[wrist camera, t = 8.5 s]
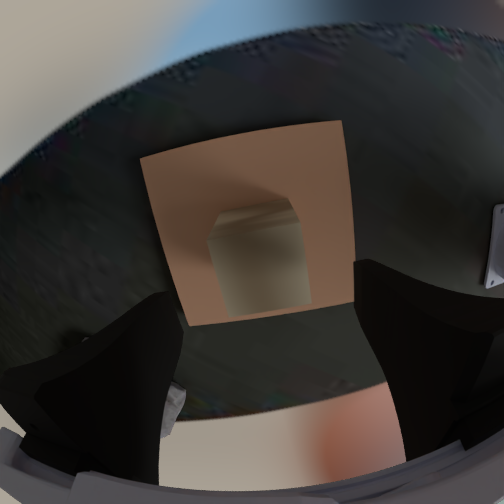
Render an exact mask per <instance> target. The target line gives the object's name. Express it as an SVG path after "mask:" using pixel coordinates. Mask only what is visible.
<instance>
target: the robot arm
mask: <svg viewBox="0 0 504 504" xmlns="http://www.w3.org/2000/svg"><path fill="white" fill-rule="evenodd" d="M353 273H354V308H355V311H356V314H357V317H358V320H359V322H360V325H361V328H362V330H363V332H364V334H365V336H366V338H367V340H368V342H369V344H370V346H371V347H372V349H373V351H374V353H375V355H376V357H377V359H378V361H379V363H380V365H381V367H382V370H383V372H384V374H385V377H386V380H387V383H388V385H389V389H390V392H391V395H392V398H393V402H394V405H395V409H396V413H397V416H398V420H399V425H400V429H401V434H402V438H403V444H404V449H405V456H406V462H405V463H402V464H399V465H396V466H393V467H390V468H387V469H384V470H380V471H377V472H374V473H370V474H366V475H362V476H358V477H354V478H350V479H345V480H341V481H336V482H331V483H325V484H319V485H313V486H306V487H298V488H291V489H279V490H266V491H206V490H192V489H181V488H173V487H165V486H159V469H158V468H159V467H158V465H159V445H160V436H161V427H162V420H163V413H164V407H165V403H166V398H167V395H168V391H169V388H170V385H171V382H172V379H173V376H174V372H175V369H176V366H177V363H178V360H179V356H180V353H181V347H182V341H183V334H184V331H183V329H182V326H181V324H180V321H179V319H178V316H177V313H176V311H175V308H174V305H173V303H172V300H171V297H170V295H169V292H168V291H166V292H158V293H154V294H152V295H150V296H148V297H147V298H145V299H144V300H142V301H141V302H140V303H138V304H137V305H135V306H134V307H133V308H131V309H130V310H129V311H127V312H126V313H125V314H123V315H122V316H121V317H119V318H118V319H116V320H115V321H114V322H112V323H111V324H109V325H108V326H106V327H105V328H104V329H102V330H101V331H99V332H98V333H96V334H94V335H93V336H91V337H89V338H88V339H86V340H84V341H82V342H81V343H79V344H77V345H75V346H73V347H71V348H69V349H66V350H64V351H62V352H60V353H58V354H55V355H53V356H50V357H48V358H45V359H42V360H39V361H36V362H33V363H29V364H25V365H21V366H17V367H13V368H9V369H7V370H6V371H5V372H4V373H3V374H2V376H1V377H0V404H1V405H2V406H3V408H4V409H5V410H6V411H7V413H8V414H9V415H10V416H11V417H12V418H13V419H14V420H15V422H16V423H17V424H18V425H19V426H20V427H21V428H22V429H23V430H24V431H25V432H26V434H25V436H24V438H23V437H21V436H20V435H19V434H17V433H15V432H13V431H11V430H9V429H7V428H5V427H2V428H1V429H0V487H1V488H2V489H3V490H4V491H6V492H7V493H8V494H10V495H11V496H12V497H14V498H15V499H16V500H18V501H19V502H21V503H22V504H497V503H499V502H500V501H501V500H503V499H504V298H492V297H482V296H475V295H469V294H464V293H459V292H455V291H451V290H447V289H444V288H440V287H437V286H434V285H431V284H428V283H425V282H422V281H420V280H417V279H415V278H412V277H410V276H407V275H405V274H403V273H400V272H398V271H396V270H394V269H392V268H389V267H387V266H385V265H383V264H381V263H378V262H376V261H373V260H370V259H364V260H359V261H354V262H353ZM503 282H504V204H498V205H496V206H495V207H494V210H493V222H492V233H491V242H490V250H489V257H488V263H487V269H486V275H485V280H484V287H485V288H490V287H493V286H496V285H498V284H501V283H503Z"/></svg>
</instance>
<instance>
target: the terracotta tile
mask: <svg viewBox="0 0 504 504" xmlns="http://www.w3.org/2000/svg"><path fill="white" fill-rule="evenodd" d="M140 162H141V166H142V171H143V175H144V179H145V183H146V187H147V191H148V195H149V199H150V203H151V207H152V210H153V214H154V218H155V221H156V225H157V229H158V232H159V236H160V239H161V242H162V246H163V249H164V252H165V256H166V259H167V262H168V265H169V268H170V271H171V275H172V278H173V281H174V284H175V287H176V290H177V293H178V296H179V299H180V301H181V304H182V307H183V310H184V313H185V316H186V318H187V321H188V324H189V326H195V325H205V324H214V323H223V322H231V321H239V320H246V319H254V318H261V317H268V316H274V315H281V314H287V313H293V312H299V311H305V310H311V309H317V308H322V307H328V306H333V305H338V304H344V303H349V302H354V273H353V262H354V261H355V242H354V225H353V211H352V199H351V189H350V179H349V171H348V162H347V155H346V148H345V141H344V134H343V128H342V122H341V120H338V121H327V122H317V123H307V124H299V125H291V126H284V127H277V128H271V129H264V130H258V131H253V132H247V133H242V134H236V135H231V136H226V137H222V138H217V139H212V140H208V141H203V142H199V143H195V144H191V145H187V146H183V147H179V148H175V149H171V150H168V151H164V152H161V153H157V154H154V155H150V156H147V157H143V158H140ZM287 198H288V199H289V201H290V203H291V205H292V207H293V209H294V211H295V213H296V215H297V217H298V219H299V221H300V223H301V229H302V236H303V242H304V249H305V256H306V263H307V270H308V278H309V285H310V293H311V301H312V303H311V304H306V305H301V306H296V307H290V308H285V309H279V310H273V311H267V312H261V313H255V314H249V315H242V316H236V317H229V316H228V313H227V310H226V306H225V303H224V300H223V296H222V293H221V290H220V286H219V283H218V279H217V276H216V273H215V269H214V266H213V262H212V259H211V255H210V251H209V248H208V244H207V241H206V240H207V238H208V236H209V234H210V232H211V230H212V228H213V226H214V224H215V222H216V220H217V218H218V216H219V214H220V212H221V211H226V210H231V209H235V208H240V207H245V206H250V205H255V204H260V203H266V202H271V201H276V200H281V199H287Z"/></svg>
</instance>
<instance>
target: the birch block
mask: <svg viewBox="0 0 504 504" xmlns="http://www.w3.org/2000/svg"><path fill="white" fill-rule="evenodd" d="M206 241H207V244H208V248H209V251H210V255H211V259H212V262H213V266H214V269H215V273H216V276H217V279H218V283H219V286H220V290H221V293H222V296H223V300H224V303H225V306H226V310H227V313H228V316H229V317H236V316H242V315H249V314H255V313H261V312H267V311H273V310H279V309H285V308H290V307H296V306H301V305H306V304H311V303H312V301H311V293H310V285H309V278H308V270H307V263H306V256H305V249H304V242H303V236H302V229H301V223H300V221H299V219H298V217H297V215H296V213H295V211H294V209H293V207H292V205H291V203H290V201H289V199H288V198H287V199H281V200H276V201H271V202H266V203H260V204H255V205H250V206H245V207H240V208H235V209H231V210H226V211H221V212H220V214H219V216H218V218H217V220H216V222H215V224H214V226H213V228H212V230H211V232H210V234H209V236H208V238H207V240H206Z"/></svg>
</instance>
